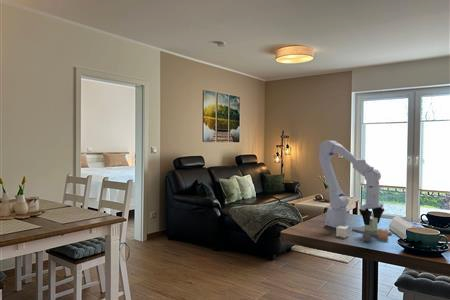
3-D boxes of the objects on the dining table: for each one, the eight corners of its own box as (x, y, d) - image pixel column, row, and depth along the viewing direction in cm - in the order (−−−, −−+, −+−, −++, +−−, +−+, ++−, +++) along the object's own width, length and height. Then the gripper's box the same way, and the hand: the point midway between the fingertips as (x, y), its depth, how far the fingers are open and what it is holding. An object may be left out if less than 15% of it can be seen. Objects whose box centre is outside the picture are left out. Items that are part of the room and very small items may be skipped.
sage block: (364, 229, 155) (364, 217, 155) (369, 228, 157) (370, 216, 157) (372, 231, 151) (372, 219, 151) (377, 230, 153) (377, 218, 153)
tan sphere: (375, 238, 144) (376, 229, 144) (381, 237, 146) (381, 228, 146) (384, 240, 141) (384, 231, 141) (389, 239, 143) (390, 230, 143)
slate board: (351, 230, 157) (352, 228, 157) (364, 227, 162) (365, 225, 162) (378, 237, 145) (378, 235, 145) (391, 234, 150) (391, 232, 150)
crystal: (383, 220, 163) (401, 233, 139) (396, 214, 162) (417, 225, 138) (390, 233, 163) (410, 248, 139) (404, 227, 161) (426, 241, 138)
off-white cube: (336, 236, 147) (336, 227, 147) (339, 234, 150) (340, 225, 150) (344, 237, 145) (345, 229, 145) (348, 236, 148) (348, 227, 147)
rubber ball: (360, 241, 140) (360, 232, 140) (365, 239, 142) (365, 231, 142) (367, 243, 137) (368, 234, 137) (373, 242, 138) (373, 233, 138)
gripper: (370, 197, 146) (369, 227, 146) (389, 195, 154) (388, 223, 154) (356, 195, 152) (356, 224, 153) (375, 193, 160) (375, 220, 160)
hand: (371, 223), depth 154 cm, fingers open, 7 cm apart
